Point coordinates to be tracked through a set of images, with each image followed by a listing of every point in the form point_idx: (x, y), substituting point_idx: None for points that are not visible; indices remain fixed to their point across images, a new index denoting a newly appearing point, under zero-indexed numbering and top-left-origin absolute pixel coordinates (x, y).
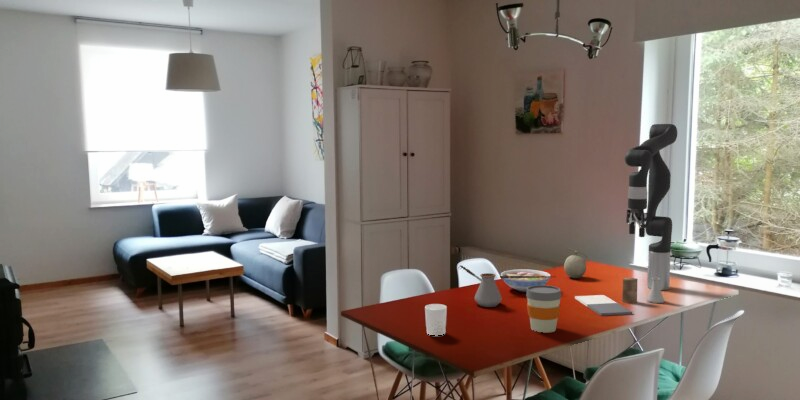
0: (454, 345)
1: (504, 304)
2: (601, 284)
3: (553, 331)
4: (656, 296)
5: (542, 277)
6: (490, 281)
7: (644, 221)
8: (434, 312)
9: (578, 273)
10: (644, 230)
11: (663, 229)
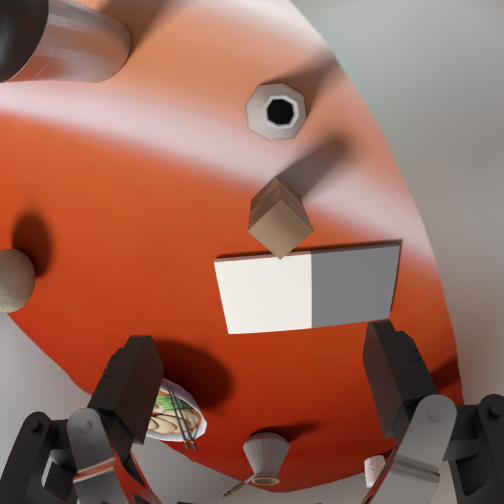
0: None
1: (268, 426)
2: (68, 217)
3: None
4: (300, 118)
5: None
6: (276, 473)
7: (429, 488)
8: None
9: (31, 273)
10: (429, 380)
11: None
